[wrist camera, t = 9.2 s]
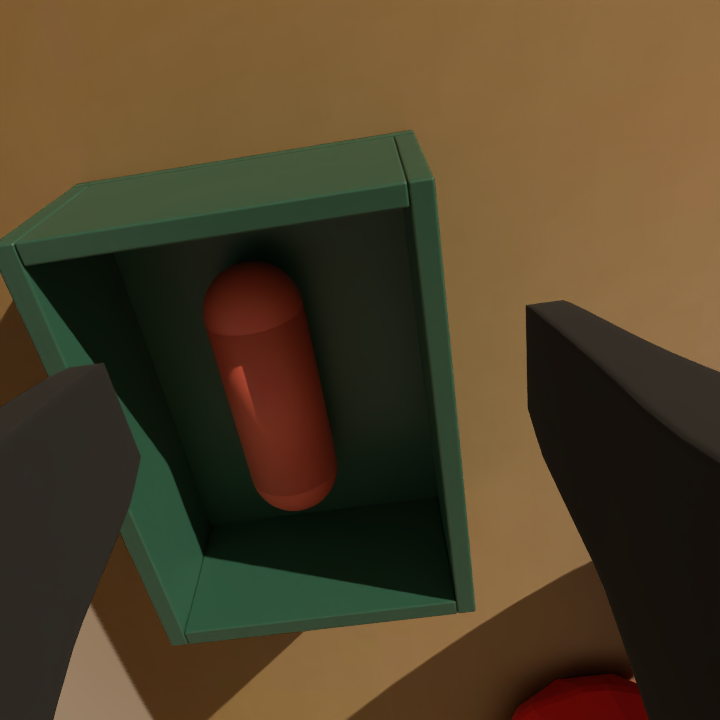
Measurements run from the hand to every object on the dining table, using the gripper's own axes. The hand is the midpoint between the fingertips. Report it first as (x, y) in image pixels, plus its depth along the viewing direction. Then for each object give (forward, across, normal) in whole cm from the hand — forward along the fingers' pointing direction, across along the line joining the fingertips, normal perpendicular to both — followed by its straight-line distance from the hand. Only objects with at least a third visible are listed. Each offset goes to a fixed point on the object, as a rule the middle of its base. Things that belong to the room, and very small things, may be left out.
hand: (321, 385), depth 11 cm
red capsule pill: (+10, +2, +5) cm, 11 cm away
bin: (+10, +2, +5) cm, 12 cm away
